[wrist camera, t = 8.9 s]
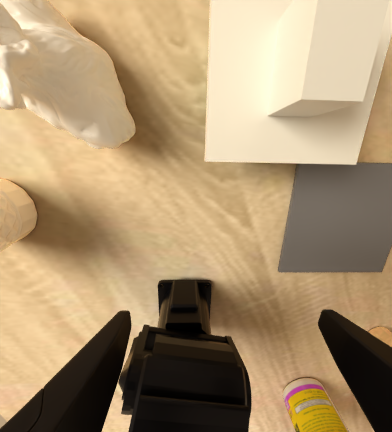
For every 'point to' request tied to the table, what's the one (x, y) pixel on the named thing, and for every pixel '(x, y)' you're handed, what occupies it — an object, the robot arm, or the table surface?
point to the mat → (339, 218)
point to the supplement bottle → (312, 407)
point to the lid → (293, 78)
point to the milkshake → (382, 334)
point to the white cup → (15, 213)
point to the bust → (60, 75)
